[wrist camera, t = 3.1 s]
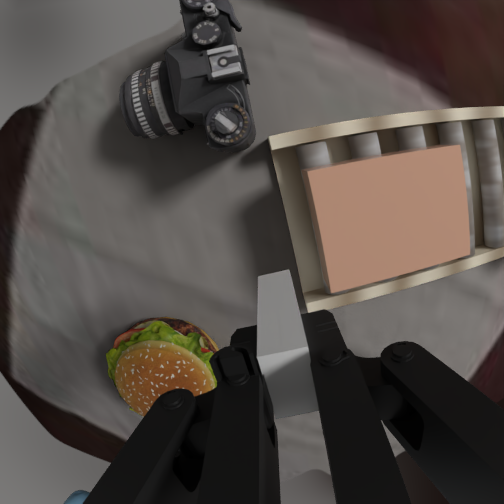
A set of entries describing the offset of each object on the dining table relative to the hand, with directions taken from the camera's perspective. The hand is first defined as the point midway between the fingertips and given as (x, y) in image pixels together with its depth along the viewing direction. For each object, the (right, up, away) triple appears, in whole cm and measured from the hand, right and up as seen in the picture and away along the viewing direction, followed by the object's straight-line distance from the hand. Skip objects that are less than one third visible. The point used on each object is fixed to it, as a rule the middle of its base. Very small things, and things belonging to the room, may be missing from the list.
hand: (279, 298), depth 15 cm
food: (-10, -11, +21) cm, 26 cm away
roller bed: (+18, +9, +15) cm, 25 cm away
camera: (-7, +18, +13) cm, 23 cm away
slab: (+11, +6, +12) cm, 17 cm away
